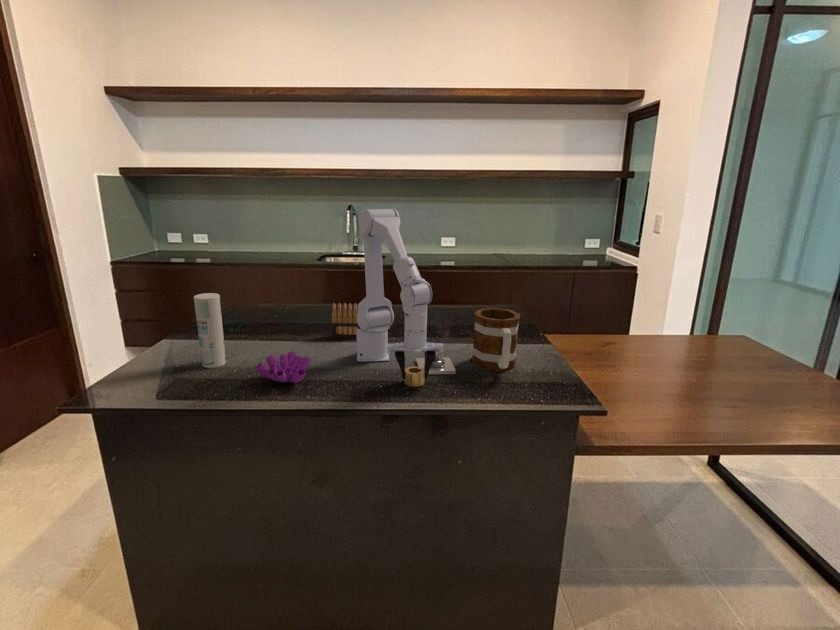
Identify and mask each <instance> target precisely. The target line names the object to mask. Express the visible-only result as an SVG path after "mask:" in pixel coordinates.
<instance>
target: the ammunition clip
mask: <svg viewBox="0 0 840 630" xmlns="http://www.w3.org/2000/svg"><path fill="white" fill-rule="evenodd" d="M341 304H342V303H341V302H338V304H337V305H336V303H335V302H333V303H332V313H331V321H332V323H331V338H336V339H337V338H342V339H344V338H345V339H346V338H347V339H348V338H349V339H350V338H351V339H357V329H361V328H360V327H359V325H358V323H357V313H358V304H357V303H356V302H354V305H353V308H352V303H351V302H349V304H348V309H347V304H346V302H344V303H343V305H341ZM336 306H337V307H336ZM347 310H348V311H347Z"/></svg>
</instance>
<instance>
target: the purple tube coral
mask: <svg viewBox="0 0 840 630" xmlns="http://www.w3.org/2000/svg"><path fill="white" fill-rule="evenodd" d="M287 352H288V353H287V354H281V355H279V361H278V360H277V358H276V356H275V355H273V354H271V355H269V356H266V357H265V361H266V363H267V365H268V366H267V365H266V364H264V363H263V362H259V363H257V365H256V366H255V368H254V369H255V371H256V372H257V373H258V374H259V375H261V376H263V377H265V378H267V379H268V380H272V381H275V382H277V383H299V382H300V381H303V379H304V378H305V376H306V373H307V372H306V369H307V368H308V367H309V365H310V363H311V360H312V358H311V357H309V356H307V355H304V356H301V355H298V354H297V352H296V351H287Z"/></svg>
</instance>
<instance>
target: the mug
mask: <svg viewBox="0 0 840 630" xmlns="http://www.w3.org/2000/svg"><path fill="white" fill-rule="evenodd" d="M520 318H521V314H520V313H518V312H515V311H514V310H511V309H507V308H498V307H497V308H495V307H490V308H488V307H487V308H481V309H477V310H476V311H475V312H474V330H473V336H472V337H473V338H472V344H473V346H472V347H473V349H472V358H471V363H472V364H473V365H475V366H476V367H478V368H479V369H481V370H487V371H496V372H502V371H508V370H512V369H515V366H516V363H517V345H518V340H519V323H520V322H519V321H520Z"/></svg>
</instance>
